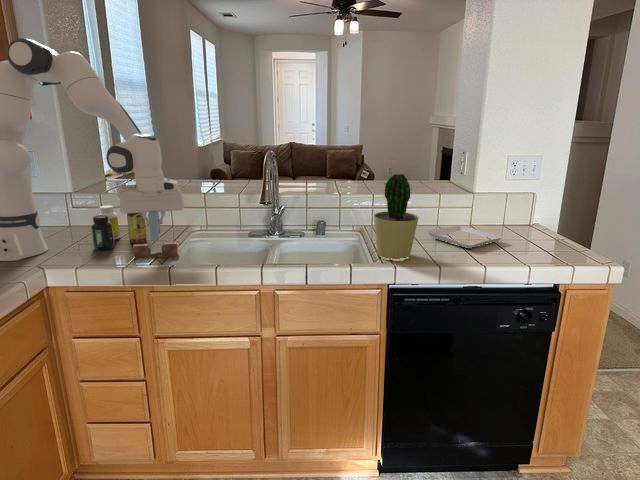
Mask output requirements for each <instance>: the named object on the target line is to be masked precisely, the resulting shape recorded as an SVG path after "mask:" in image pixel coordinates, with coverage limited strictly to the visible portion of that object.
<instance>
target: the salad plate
mask: <svg viewBox="0 0 640 480" xmlns="http://www.w3.org/2000/svg"><path fill="white" fill-rule="evenodd" d="M459 230H460V231H465V232H469V233H472V234H476V235H480V236H484V237H488V238H492V240H487V241H483V242H480V243H477V244H474V245H467V244H463V243H461V242H458V241H455V240H453V239H450V238H447V237H443V236H442V235H446V234H450V233H452V232H456V231H459ZM427 234H428V235H429V236H431V237H432V238H434V239H435V238H436V239H437V240H438V239H440V240H443V241H447V242H450V243H454V244H457V245H461V246H463V247H467V248H471V249H473V248H472V247H475V246H478V245H482V244H486V243H490V242H494V243H496V242H495V241H497V242H499V241H501V240H502V238H503V237H502V236H499V235H497V234H493V233H490V232H486V231H482V230H479V229H475V228H472V227H471V228H470V227H467V226H463V225H455V226H454V225H453V226H450V227H443V228H438V229H433V230H428V231H427ZM440 240H439V241H440ZM490 244H491V243H490ZM475 248H476V247H475Z"/></svg>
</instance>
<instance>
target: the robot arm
mask: <svg viewBox="0 0 640 480" xmlns="http://www.w3.org/2000/svg"><path fill="white" fill-rule="evenodd" d="M5 53H6V58H7V60H3V61H2V60H1V61H0V262H8V261H10V262H11V261H12V262H14V261H15V262H16V261H20V260H23V259H25V258H30V257H34V256H38V255H41V254H43V253H46V252H47V251H48V250H49V247H48V246H47V243H46V241H45V239H44V237H43V234H42V231H41V229H40V227H41V221H40V216H39V214H38V211H37V209H36V205H35V199H34V193H33V185H32V184H33V181H32V180H33V177H32V164H31V163H32V162H31V156H30V152H29V150H28V148H26V147H25V140H26V137H27V135H28V134H27V132H28V130H29V127H30V123H31V112H32V104H33V103H32V102H33V94H34V93H33V92H34V88H35V86H36V85H38V84H40V85H41V86H54V85H61V86H62V87H63V89H64V91H65V92H66V94H67V97H69V99H70V101H71V102H72V103H73V105H74V106H75V107H76V108H77V109H78V110H79V111H80V112H82V113H85V114H87V115H90V116H93V117H97V118H100V119H101V120H104V121H106V122H107V123H108V122H109V123H110V124H111V125H112V126H114V128H115V129H116V130H117V131H118V133H119V134H120V135H121V137H122V138H123V139H124V141H123V142H120V143H116V144H114V145H110V147H109V148H108V149H107V151H106V154H105V155H106V156H105V157H106V163H107V165H108V167H109V168H110V169H111V171H113V172H114V173H115V174H116V173H117V174H122V175H124V174H128V173H129V174H130V173H133V174H134V181H135V184H123V185H120V186H119V187H118V188H117V190H116V193H117V197H118V198H119V211H120V213H122V214H127V213H141V214H142V217H143V218H144V219H145V223H146V226H149V218H148V216H147V213H149V212H155V211H157V212H159V213H160V215H161V217H159V218H158V224H160V225H163V224H164V217H165V215H166V212H175V211H183V210H184V208H185V203H184V197H183V193H182V190H181V189H180V188H179V182H178V181H177V180H174V179H172V178H171V179H170V178H166V177H165V176H164V172H163V169H162V164H163V159H162V158H163V157H162V151H161V145H160V142H159V140H158V138H157V137H156V136H154V135H152V134H149V133H142V131H141V130H140V129H139V127H138V126H137V125H136V123H135V122H134V120H133V119H132V117H131V116H130V115H129V113H128V112H127V110H126V109H125V108H124V107H123V105H122V104H121V103H120V102H118V100H117V99H116V98H115V97H114V96H113V95H112V94H111V93H110V92H109V91H108V89H107V88H106V87H105V85H104V84H103V82H102V81H101V79H100V77H99V75H98V74H97V72H96V70H94V68H93V66H92V65H91V64H90V63H89V62H88V60H87V59H86V58H85V56H83V55H82V54H81V53H79V52H77V51H65V52H63V53H60V52H57V51H56V50H55V49H53V48H51V47H49V46H47V45H45V44H42V43H39V42H38V41H36V40H33V39H30V38H22V37H18V38H15V39H13V40H11V41H10V42H9V43H8V45H7V47H6V51H5Z"/></svg>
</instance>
